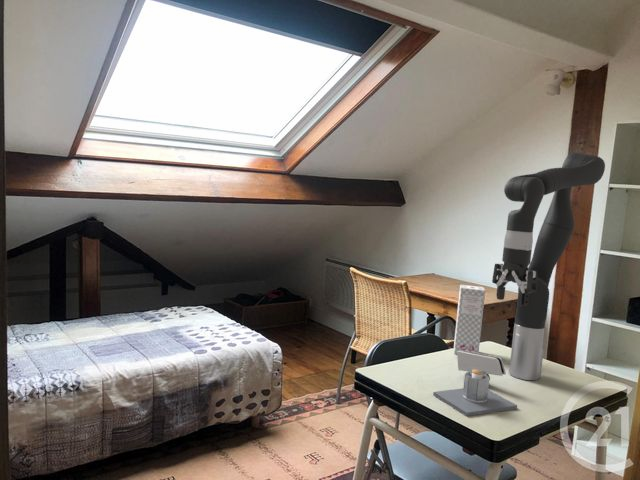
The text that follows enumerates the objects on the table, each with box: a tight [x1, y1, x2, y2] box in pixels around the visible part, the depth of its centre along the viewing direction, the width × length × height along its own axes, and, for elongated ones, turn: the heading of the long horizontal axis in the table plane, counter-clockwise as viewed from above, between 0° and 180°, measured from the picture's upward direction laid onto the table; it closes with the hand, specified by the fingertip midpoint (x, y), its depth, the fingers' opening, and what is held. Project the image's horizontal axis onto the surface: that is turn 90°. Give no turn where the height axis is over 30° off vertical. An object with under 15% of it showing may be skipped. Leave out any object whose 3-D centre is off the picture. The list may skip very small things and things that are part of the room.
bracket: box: [456, 350, 507, 381], centre depth 154 cm, size 4×10×15 cm
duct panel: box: [432, 369, 518, 417], centre depth 139 cm, size 18×14×9 cm
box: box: [453, 284, 486, 356], centre depth 186 cm, size 8×8×25 cm
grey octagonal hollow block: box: [463, 371, 490, 401], centre depth 140 cm, size 6×8×6 cm
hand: (511, 302), depth 143 cm, fingers open, 8 cm apart
